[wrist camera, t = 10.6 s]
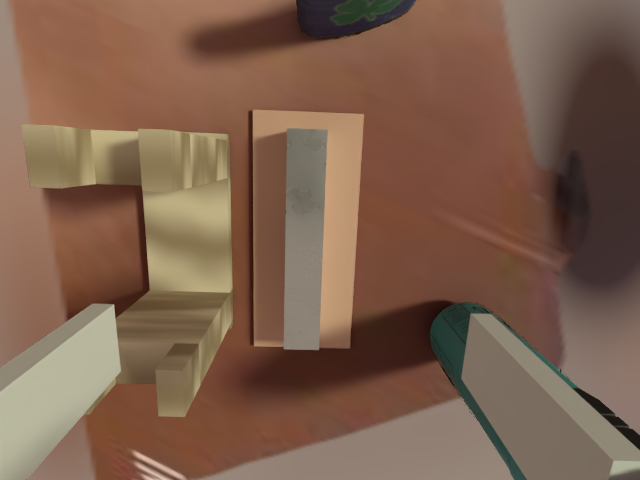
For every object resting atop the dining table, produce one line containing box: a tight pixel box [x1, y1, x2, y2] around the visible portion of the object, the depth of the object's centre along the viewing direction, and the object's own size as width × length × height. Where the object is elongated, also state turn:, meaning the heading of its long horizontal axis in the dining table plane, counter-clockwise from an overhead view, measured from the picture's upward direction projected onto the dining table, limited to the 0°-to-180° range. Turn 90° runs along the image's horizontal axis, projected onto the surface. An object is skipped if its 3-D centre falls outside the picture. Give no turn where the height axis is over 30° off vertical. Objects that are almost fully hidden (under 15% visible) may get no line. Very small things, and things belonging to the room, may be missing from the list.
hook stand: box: [21, 124, 233, 417], centre depth 26 cm, size 17×7×13 cm, turn 178°
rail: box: [284, 128, 328, 350], centre depth 30 cm, size 18×3×3 cm, turn 178°
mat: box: [253, 110, 364, 348], centre depth 32 cm, size 21×9×1 cm, turn 178°
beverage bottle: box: [429, 302, 580, 480], centre depth 25 cm, size 6×7×20 cm
